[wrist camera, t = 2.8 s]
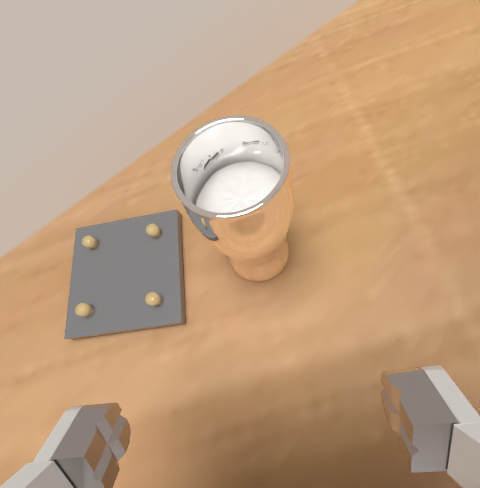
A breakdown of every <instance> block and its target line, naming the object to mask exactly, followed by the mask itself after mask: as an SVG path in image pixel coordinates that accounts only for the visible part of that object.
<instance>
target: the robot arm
mask: <svg viewBox="0 0 480 488" xmlns="http://www.w3.org/2000/svg"><path fill="white" fill-rule="evenodd" d="M381 382H382V384H383V386H384V388H385V389H384V390H383V391H382V392H381V393H382V403H383V408H384V412H385V415H386V417H387V420H388V422H389V425H390V427H391V429H393V430H394V431H395V432H396V433H398V434H399V447H400V449H401V451H402V454H403V456H404V458H405V460H406V462H407V465H408V467H409V469H410V471H411V473H415V472H438V471H447V474H448V475H449V476H451V477H452V478H453V479H454V480H455V481H456V482H457V483H458V484H459V485H460V486H461V487H462V488H480V415H479V414H478V413H477V411H476V410H475V409H474V407H473V406H472V405H471V404H470V402H469V401H468V400H467V398H466V397H465V396H464V395H463V393H462V392H461V391H460V389H459V388H458V387H457V385H456V384H455V383H454V382H453V380H452V379H451V378H450V376H449V375H448V374H447V372H446V371H445V370H444V369H443V368H442V367H441V366H439V365H436V366H428V367H420V368H418V367H416V368H408V369H400V370H392V371H384V372H382V374H381ZM121 410H122V409H121V408H120V406H119V405H118V403H107V404H95V405H84V406H74V407H70V408H69V409H67V410H66V411H65V412H64V414H63V415H62V417H61V418H60V420H59V422H58V423H57V425H56V426H55V428H54V429H53V431H52V433H51V434H50V436H49V437H48V439H47V440H46V442H45V443H44V445H43V447H42V448H41V450H40V451H39V453H38V454H37V456H36V458H35V459H34V461H33V462H31V463H27V464H26V465H25V466H24V467H22V468H21V469H20V470H19V471H18V472H17V473H15V474H14V475H13V476H12V477H11V478H10V479H8V480H7V481H6V482H5V483H4V484H3V485H2V486H0V488H113V485H114V483H115V480H116V477H117V475H118V472H119V470H120V468H119V463H118V461H119V460H120V458H121V457H122V456H123V455H124V454H125V453H126V451H127V448H128V445H129V442H130V433H131V431H130V425H129V423H128V421H127V419H126V418H124V417H122V416H121V415H120V413H121Z"/></svg>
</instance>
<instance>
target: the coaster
mask: <svg viewBox="0 0 480 488" xmlns="http://www.w3.org/2000/svg"><path fill="white" fill-rule="evenodd" d="M179 324H186V318H185V295H184V272H183V248H182V225H181V214H180V212H179V211H178V210H172V211H166V212H161V213H156V214H150V215H145V216H140V217H135V218H129V219H124V220H119V221H114V222H108V223H103V224H98V225H92V226H87V227H82V228H77V229H76V235H75V245H74V254H73V263H72V273H71V282H70V292H69V301H68V310H67V320H66V329H65V338H64V339H80V338H87V337H94V336H101V335H108V334H115V333H123V332H130V331H137V330H144V329H151V328H158V327H165V326H172V325H179Z"/></svg>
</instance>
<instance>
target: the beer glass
mask: <svg viewBox="0 0 480 488" xmlns="http://www.w3.org/2000/svg"><path fill="white" fill-rule="evenodd" d="M171 181H172V186H173V189H174V191H175V193H176V195H177V197H178V198H179V200H180V201H181V202H182V204H183V206H184V208H185V210H186V212H187V214H188V215H189V217H190V219H191V221H192V222H193V224H194V225H195V227H196V228H197V229H198V231H199V232H200V233H201V235H202V236H203V237H204V238H205V239H206V240H207V241H208V242H209V243H210V244H211V245H212V246H213V247H214V248H216V249H217V250H218V251H220V252H221V253H223V254H225V255H226V256H228V257H229V261H230V264H231V266H232V267H233V269H234V270H235V272H236V273H237V274H238V275H240V276H241V277H243V278H245V279H247V280H250V281H266V280H269V279H271V278H273V277H275V276H276V275H278V274H279V273H280V272H281V271H282V270H283V268H284V267H285V265H286V263H287V260H288V255H289V248H288V243H287V241H286V238H285V237H286V235H287V233H288V230H289V227H290V223H291V220H292V216H293V205H294V191H293V180H292V173H291V167H290V154H289V149H288V146H287V144H286V142H285V140H284V138H283V137H282V135H281V134H280V133H279V132H278V131H277V130H276V129H275V128H274V127H273V126H271V125H270V124H268V123H266V122H264V121H262V120H260V119H257V118H253V117H248V116H228V117H222V118H219V119H215V120H213V121H210V122H208V123H206V124H204V125H202V126H200V127H199V128H197V129H196V130H195V131H193V132H192V133H191V134H190V135H189V136H188V137H187V138H186V139H185V140H184V141H183V142H182V144H181V145H180V147H179V148H178V150H177V152H176V154H175V156H174V159H173V162H172V166H171Z"/></svg>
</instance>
